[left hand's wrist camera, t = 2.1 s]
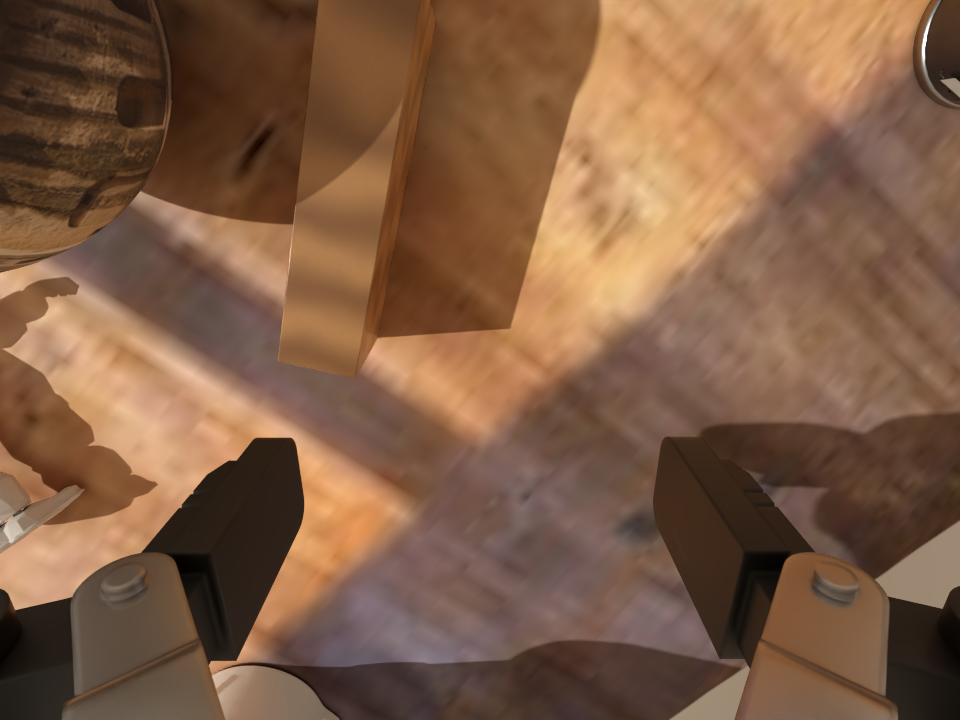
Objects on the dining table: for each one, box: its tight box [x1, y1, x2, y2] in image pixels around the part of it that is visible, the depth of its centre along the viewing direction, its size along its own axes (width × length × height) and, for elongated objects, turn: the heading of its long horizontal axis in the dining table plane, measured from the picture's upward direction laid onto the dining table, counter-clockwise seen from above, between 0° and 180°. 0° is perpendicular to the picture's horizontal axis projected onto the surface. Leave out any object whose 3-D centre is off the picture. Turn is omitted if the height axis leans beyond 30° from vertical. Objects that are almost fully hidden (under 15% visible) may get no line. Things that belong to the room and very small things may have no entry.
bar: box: [278, 0, 436, 378], centre depth 36 cm, size 24×5×8 cm, turn 166°
